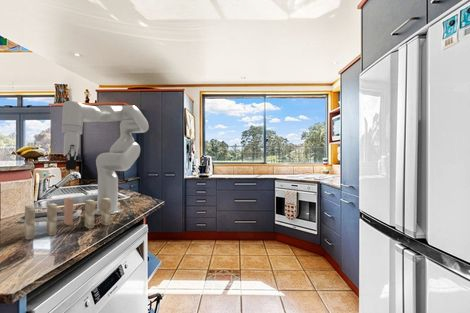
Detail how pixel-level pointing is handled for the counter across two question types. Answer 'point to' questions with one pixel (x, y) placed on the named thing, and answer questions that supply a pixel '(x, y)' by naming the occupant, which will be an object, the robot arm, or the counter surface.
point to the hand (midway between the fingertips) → (70, 169)
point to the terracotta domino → (68, 211)
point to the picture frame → (60, 215)
